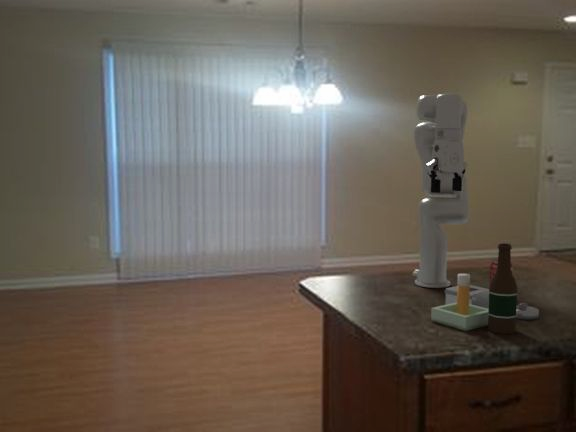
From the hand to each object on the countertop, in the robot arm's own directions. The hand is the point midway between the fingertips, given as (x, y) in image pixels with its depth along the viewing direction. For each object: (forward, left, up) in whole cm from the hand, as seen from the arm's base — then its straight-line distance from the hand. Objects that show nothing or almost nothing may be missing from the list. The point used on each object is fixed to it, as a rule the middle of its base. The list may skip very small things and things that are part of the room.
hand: (446, 191), depth 197 cm
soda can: (+5, +22, -36) cm, 43 cm away
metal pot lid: (+20, +12, -36) cm, 43 cm away
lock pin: (+14, -8, -36) cm, 39 cm away
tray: (+14, -8, -36) cm, 40 cm away
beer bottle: (+26, -6, -36) cm, 45 cm away
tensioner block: (+5, +6, -36) cm, 37 cm away
